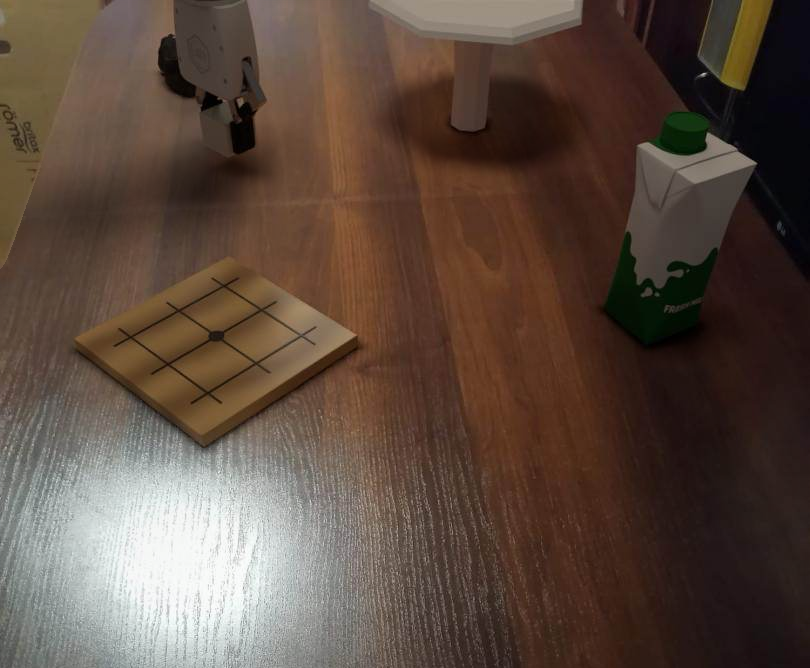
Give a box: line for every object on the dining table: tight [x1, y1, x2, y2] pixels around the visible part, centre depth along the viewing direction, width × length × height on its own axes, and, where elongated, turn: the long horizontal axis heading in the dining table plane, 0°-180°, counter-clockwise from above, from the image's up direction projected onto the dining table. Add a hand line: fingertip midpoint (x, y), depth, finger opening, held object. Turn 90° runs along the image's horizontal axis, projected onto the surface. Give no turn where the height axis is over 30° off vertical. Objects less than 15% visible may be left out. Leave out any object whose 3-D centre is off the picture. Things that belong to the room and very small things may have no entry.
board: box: [73, 255, 359, 448], centre depth 87 cm, size 20×20×2 cm
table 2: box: [367, 0, 584, 132], centre depth 112 cm, size 28×28×17 cm
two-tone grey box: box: [198, 100, 258, 158], centre depth 108 cm, size 5×5×4 cm
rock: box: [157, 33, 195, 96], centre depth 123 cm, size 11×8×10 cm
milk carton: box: [603, 110, 758, 346], centre depth 84 cm, size 9×9×20 cm
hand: (230, 141), depth 109 cm, fingers closed on two-tone grey box, 4 cm apart
